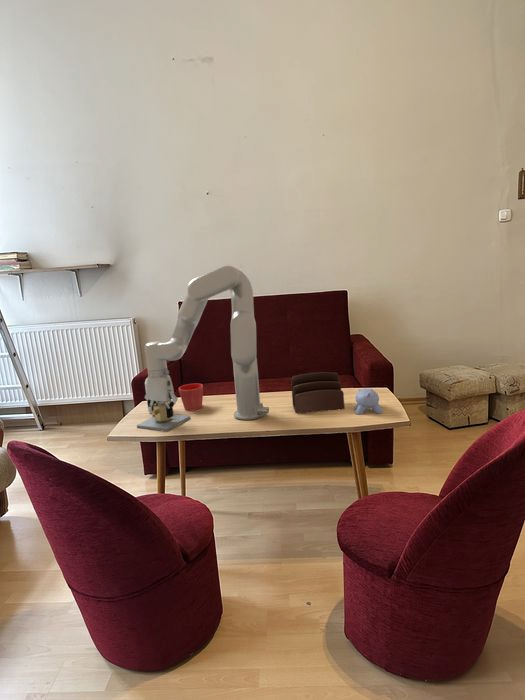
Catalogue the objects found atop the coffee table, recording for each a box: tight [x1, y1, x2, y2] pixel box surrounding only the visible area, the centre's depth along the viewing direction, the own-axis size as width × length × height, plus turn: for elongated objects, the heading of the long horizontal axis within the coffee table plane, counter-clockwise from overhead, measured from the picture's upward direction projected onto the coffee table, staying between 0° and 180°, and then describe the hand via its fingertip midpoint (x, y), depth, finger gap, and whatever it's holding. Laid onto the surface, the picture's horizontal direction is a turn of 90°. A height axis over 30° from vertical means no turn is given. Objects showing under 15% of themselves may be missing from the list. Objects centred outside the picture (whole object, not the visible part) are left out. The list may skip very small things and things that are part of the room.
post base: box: [136, 403, 191, 432], centre depth 181 cm, size 15×15×8 cm
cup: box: [151, 402, 172, 421], centre depth 180 cm, size 9×7×6 cm
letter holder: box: [290, 371, 346, 414], centre depth 184 cm, size 10×20×14 cm, turn 93°
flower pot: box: [178, 383, 204, 411], centre depth 198 cm, size 11×11×10 cm
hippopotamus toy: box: [353, 388, 384, 415], centre depth 177 cm, size 11×15×10 cm
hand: (163, 416), depth 181 cm, fingers closed on cup, 6 cm apart
